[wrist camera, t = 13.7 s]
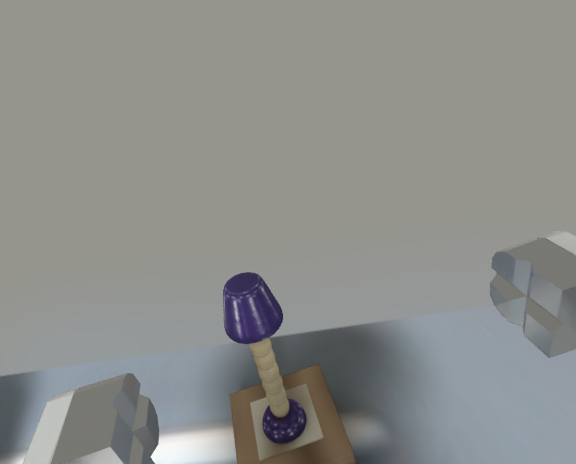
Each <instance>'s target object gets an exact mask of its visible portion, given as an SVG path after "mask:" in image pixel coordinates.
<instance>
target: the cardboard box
mask: <svg viewBox="0 0 576 464" xmlns="http://www.w3.org/2000/svg"><path fill="white" fill-rule="evenodd" d="M282 380H283V387H284V388H285V391H286V398H290V399H293V400H295V401H297V402H298V403H299V404H300V405H301V406H302V407H303V409H304V411H305V413H306V417H307V421H306V426H305V429H304V431H303V433H302V434H301V435H300V436H299V437H298V438H296V439H295V440H293V441H291V442H288V443H283V444H279V443H275V442H273V441H271V440H270V439H269V438H267V436H266V435H265V433H264V431H263V425H262V421H263V415H264V412H265V410H266V409H267V407H268V406H269V405H270V403H269V402H268V400H267V397H266V391H265V390H264V388H263V386H262V383H261V384H259V385H256V386H253V387H250V388H247V389H244V390H241V391H238V392H235V393H232V394H230V401H231V410H232V419H233V428H234V437H235V446H236V455H237V464H356V462H355V458H354V453H353V450H352V447H351V445H350V442H349V440H348V437H347V435H346V432H345V430H344V427H343V424H342V422H341V419H340V417H339V414H338V412H337V409H336V407H335V404H334V401H333V399H332V396H331V394H330V391H329V389H328V386H327V383H326V381H325V378H324V376H323V373H322V371H321V368H320V366H319V364H317V365H314V366H311V367H308V368H305V369H302V370H299V371H297V372H294V373H291V374H288V375H285V376H282Z"/></svg>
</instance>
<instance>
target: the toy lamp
mask: <svg viewBox="0 0 576 464" xmlns="http://www.w3.org/2000/svg"><path fill="white" fill-rule="evenodd" d="M223 302H224V303H223V304H224V327H225V331H226V333H227V335H228V336H229V338H231V339H232V340H233V341H235V342H237V343H242V344H249V346H250V349H251V351H252V353H253V354H254V361H255V364H256V365H257V367H258V374H259V376H260V378H261V379H262V386H263V388H264V390H265V391H266V397H267V400H268V402H269V403H270V405H269V406H268V407H267V409H266V410H265V412H264V415H263V421H262V425H263V431H264V433H265V435H266V436H267V438H269V439H270V440H271V441H273V442H275V443H279V444H283V443H288V442H291V441H293V440H295V439H296V438H298V437H299V436H300V435H301V434H302V433H303V431H304V429H305V426H306V421H307V417H306V413H305V411H304V409H303V407H302V406H301V405H300V404H299V403H298V402H297V401H295V400H293V399H290V398H286V391H285V388H284V387H283V380H282V377H281V375H280V374H279V367H278V364H277V362H276V361H275V353H274V351H273V349H272V348H271V347H272V343H271V340H270V336H272V335H273V334H274V333H275V332H276V331H277V330H278V329H279V327H280V326H281V323H282V320H283V313H282V309H281V307H280V305H279V304H278V302H277V300H276V299H275V297H274V296H273V294H272V293H271V291H270V289H269V288H268V286H267V285H266V283H265V282H264V280H263V279H262V278H261V277H260V276H259V275H258V274H256V273H251V272H247V273H241V274H238V275H236V276H234V277H232V278H231V279H230V280H228V281H227V283H226V284H225V286H224V290H223Z"/></svg>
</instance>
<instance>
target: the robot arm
mask: <svg viewBox="0 0 576 464" xmlns="http://www.w3.org/2000/svg"><path fill="white" fill-rule="evenodd" d="M492 268H493V269H494V270H495V271H496V273H497V274H496V276H495V277H494V278H493V280H492V281H491V283H490V296H491V298H492V301H493V304H494V306H495V308H496V309H497V310H498V312H499V313H500V314H501V315H502V316H503V317H504V318H505V319H506V320H507V321H508V322H510V323H513V324H516V325H519V326H522V327H523V332H524V336H525V337H526V338H527V339H528V340H529V341H530V342H532V343H533V344H534V345H535V346H536V347H537V348H538V349H539V350H541V351H542V352H543V353H544V354H545V355H546V356H547V357H548V358H551V357H554V356H557V355H560V354H563V353H566V352H569V351H572V350H575V349H576V236H574V235H572V234H570V233H568V232H563V231H556V232H553V233H550V234H547V235H544V236H541V237H538V238H537V239H534V240H531V241H528V242H524V243H521V244H519V245H516V246H513V247H510V248H507V249H504V250H501V251H498V252H496V253H495V255H494V256H493V258H492ZM139 390H140V383H139V381H138V380H137V379H136V377H135V376H134V374H131V373H127V374H123V375H120V376H117V377H113V378H110V379H107V380H104V381H100V382H97V383H94V384H90V385H87V386H84V387H81V388H79V389H76V390H73V391H69V392H66V393H63V394H59V395H56V396H53V397H52V398H51V399H50V400H49V401H48V402H47V404H46V406H45V409H44V411H43V414H42V416H41V419H40V421H39V424H38V426H37V429H36V431H35V434H34V436H33V439H32V441H31V444H30V447H29V449H28V452H27V454H26V457H25V459H24V462H23V464H155V463H154V462H153V460H152V459H151V457H150V456H151V455H152V453H153V452H154V450H155V449H156V447H157V445H158V441H159V426H158V418H157V414H156V411H155V408H154V406H153V404H152V402H151V401H150V399H149V398H148V397H145V396H143V395H140V394H139Z"/></svg>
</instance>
